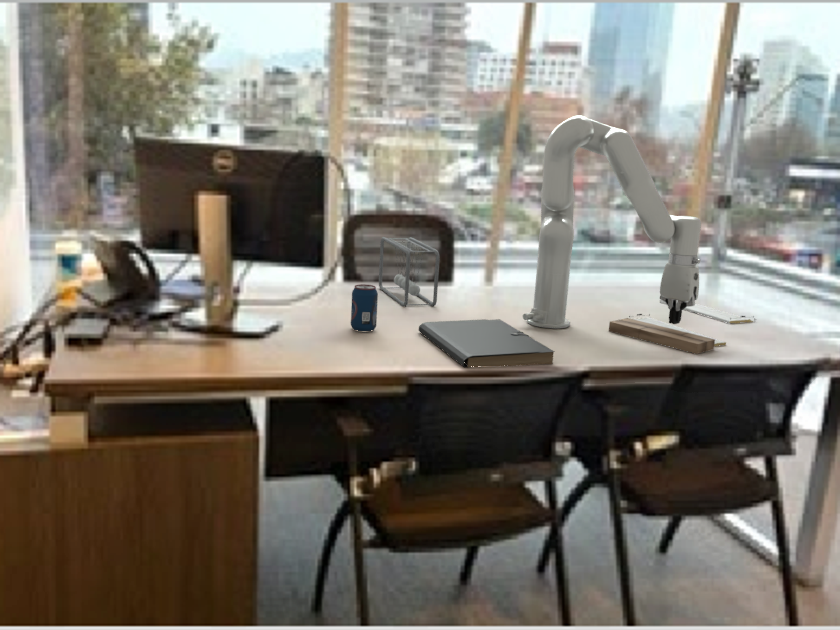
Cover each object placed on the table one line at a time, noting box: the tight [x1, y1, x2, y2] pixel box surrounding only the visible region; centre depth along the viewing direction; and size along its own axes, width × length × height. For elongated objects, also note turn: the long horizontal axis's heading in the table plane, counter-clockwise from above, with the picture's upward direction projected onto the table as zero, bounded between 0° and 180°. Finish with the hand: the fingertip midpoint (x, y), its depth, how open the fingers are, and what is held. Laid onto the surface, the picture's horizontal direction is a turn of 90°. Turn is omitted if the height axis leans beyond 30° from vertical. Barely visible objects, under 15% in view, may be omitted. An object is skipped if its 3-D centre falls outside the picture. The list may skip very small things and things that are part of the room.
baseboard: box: [628, 313, 727, 347], centre depth 248 cm, size 30×3×10 cm
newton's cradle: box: [378, 236, 440, 307], centre depth 273 cm, size 30×10×18 cm, turn 18°
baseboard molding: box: [659, 299, 757, 324], centre depth 280 cm, size 31×3×12 cm
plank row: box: [608, 317, 716, 355], centre depth 239 cm, size 9×28×3 cm, turn 43°
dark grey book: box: [418, 318, 556, 368], centre depth 220 cm, size 33×4×24 cm
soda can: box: [350, 284, 379, 331], centre depth 230 cm, size 7×7×12 cm
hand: (674, 323), depth 245 cm, fingers closed
